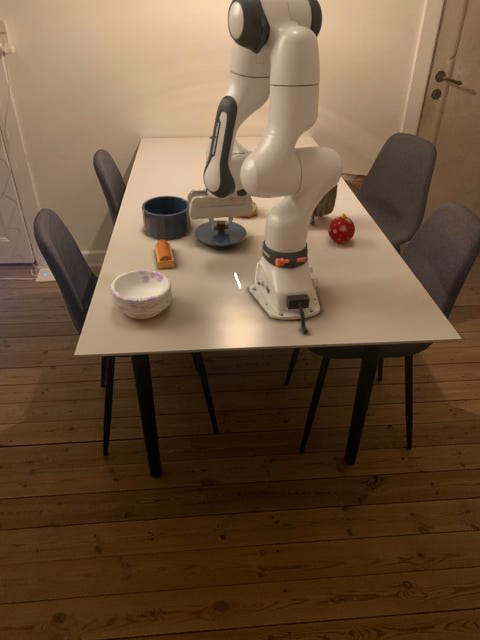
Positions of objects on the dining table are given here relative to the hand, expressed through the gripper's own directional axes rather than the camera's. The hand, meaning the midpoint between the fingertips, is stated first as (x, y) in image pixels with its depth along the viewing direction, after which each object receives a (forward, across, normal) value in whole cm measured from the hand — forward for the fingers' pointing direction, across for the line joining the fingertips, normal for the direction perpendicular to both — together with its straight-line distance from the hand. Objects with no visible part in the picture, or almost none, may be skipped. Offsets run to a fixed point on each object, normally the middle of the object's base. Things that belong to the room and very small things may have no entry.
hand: (220, 228), depth 157 cm
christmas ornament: (+4, +39, -7) cm, 40 cm away
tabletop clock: (+4, +34, +8) cm, 35 cm away
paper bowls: (+4, -27, -34) cm, 43 cm away
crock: (+4, -16, +11) cm, 20 cm away
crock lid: (+2, 0, 0) cm, 2 cm away
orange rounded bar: (+4, -19, -9) cm, 21 cm away
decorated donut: (+5, +12, +20) cm, 23 cm away
